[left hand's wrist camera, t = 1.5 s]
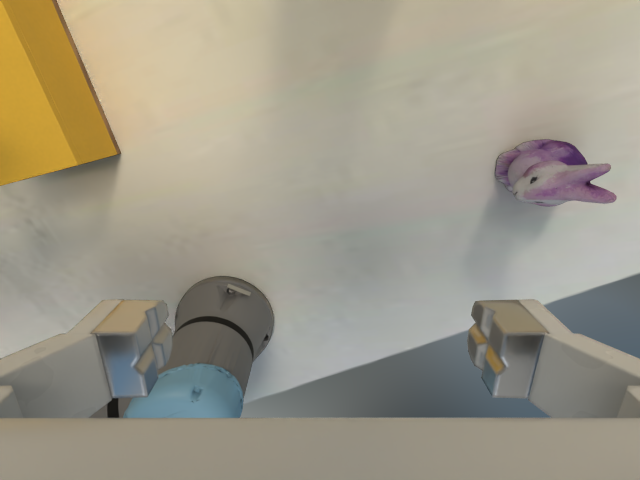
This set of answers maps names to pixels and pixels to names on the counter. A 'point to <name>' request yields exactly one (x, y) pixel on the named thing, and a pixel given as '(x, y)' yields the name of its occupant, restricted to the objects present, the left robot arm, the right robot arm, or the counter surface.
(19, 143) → the cabinet
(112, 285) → the counter surface
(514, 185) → the figurine
